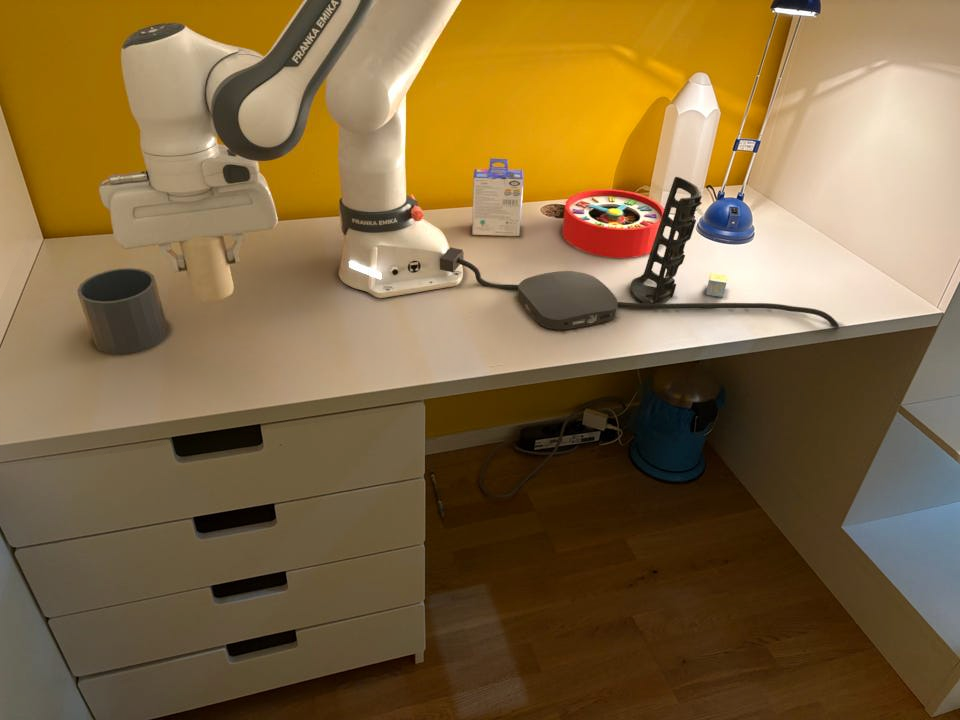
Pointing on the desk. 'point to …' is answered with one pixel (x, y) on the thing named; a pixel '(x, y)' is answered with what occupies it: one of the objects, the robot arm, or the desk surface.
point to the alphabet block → (716, 285)
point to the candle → (207, 268)
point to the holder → (669, 245)
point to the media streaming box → (567, 299)
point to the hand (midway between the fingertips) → (208, 265)
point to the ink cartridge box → (497, 200)
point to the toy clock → (611, 222)
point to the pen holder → (123, 310)
